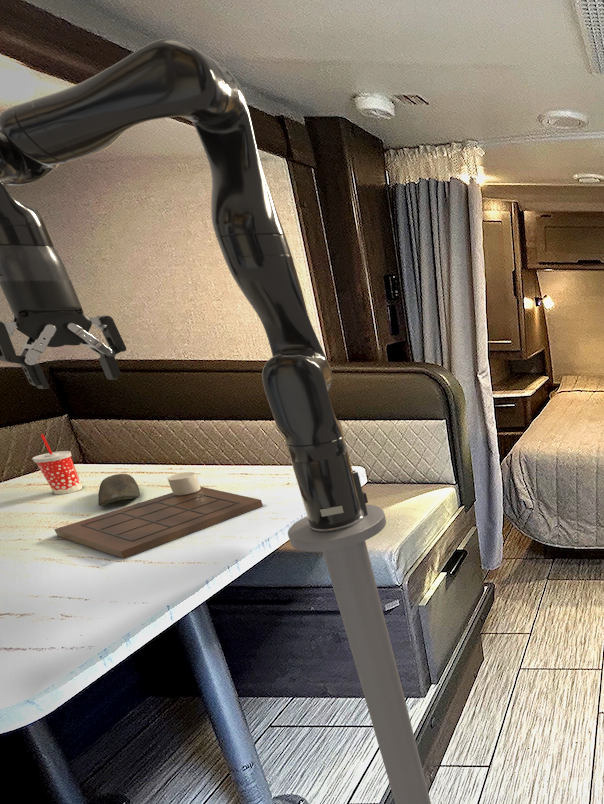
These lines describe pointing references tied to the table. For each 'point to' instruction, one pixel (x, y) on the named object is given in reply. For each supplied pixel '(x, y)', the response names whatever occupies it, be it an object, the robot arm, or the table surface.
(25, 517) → the table surface
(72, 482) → the beverage cup
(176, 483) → the game stone
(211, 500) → the game board
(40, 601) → the table surface
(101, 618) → the table surface
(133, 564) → the table surface
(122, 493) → the decorative stone
